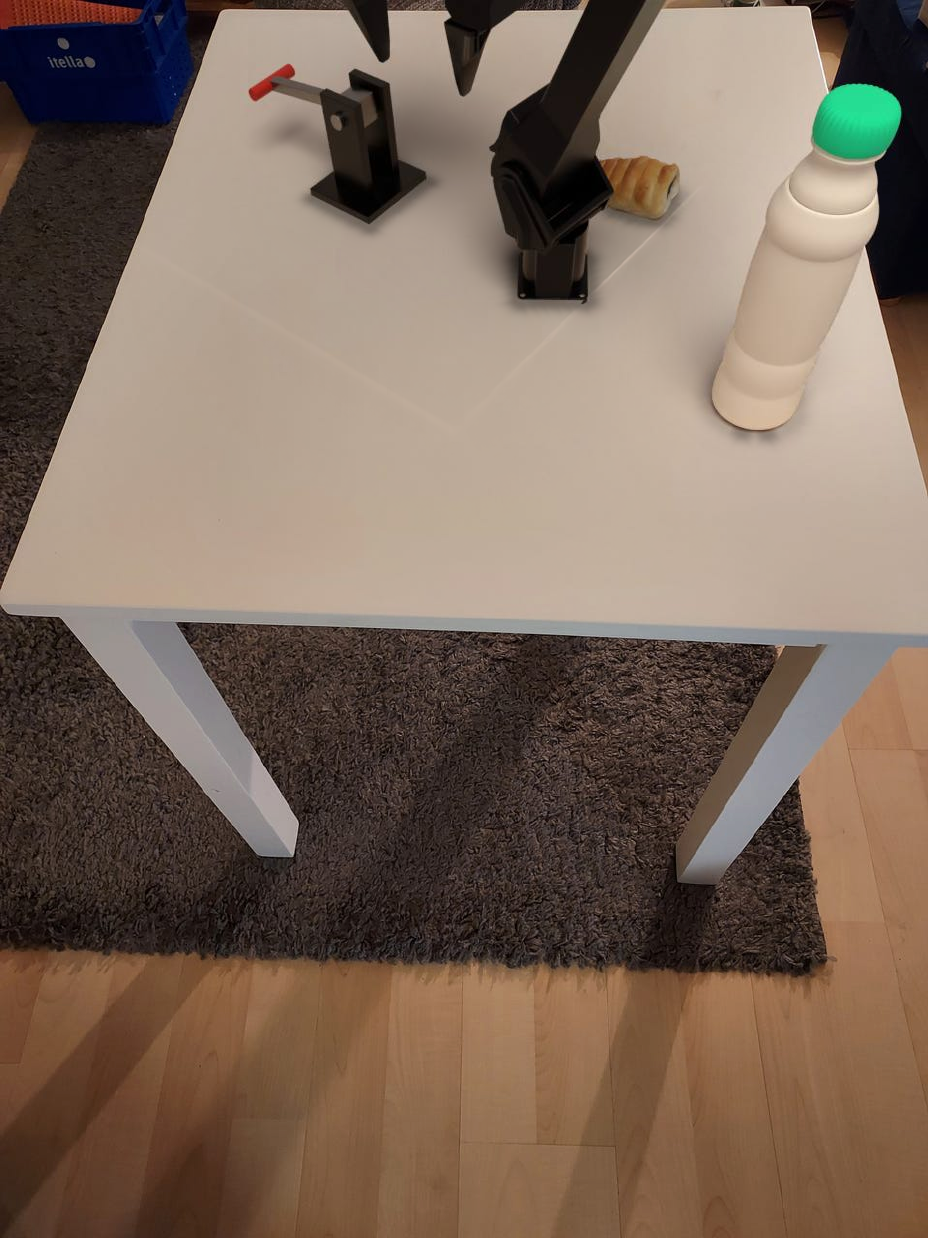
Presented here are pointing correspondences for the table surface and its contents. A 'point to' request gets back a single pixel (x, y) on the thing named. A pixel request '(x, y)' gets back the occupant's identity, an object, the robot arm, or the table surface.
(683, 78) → the table surface
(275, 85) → the lever
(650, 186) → the pastry
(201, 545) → the table surface
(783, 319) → the water bottle
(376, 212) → the switch bracket
